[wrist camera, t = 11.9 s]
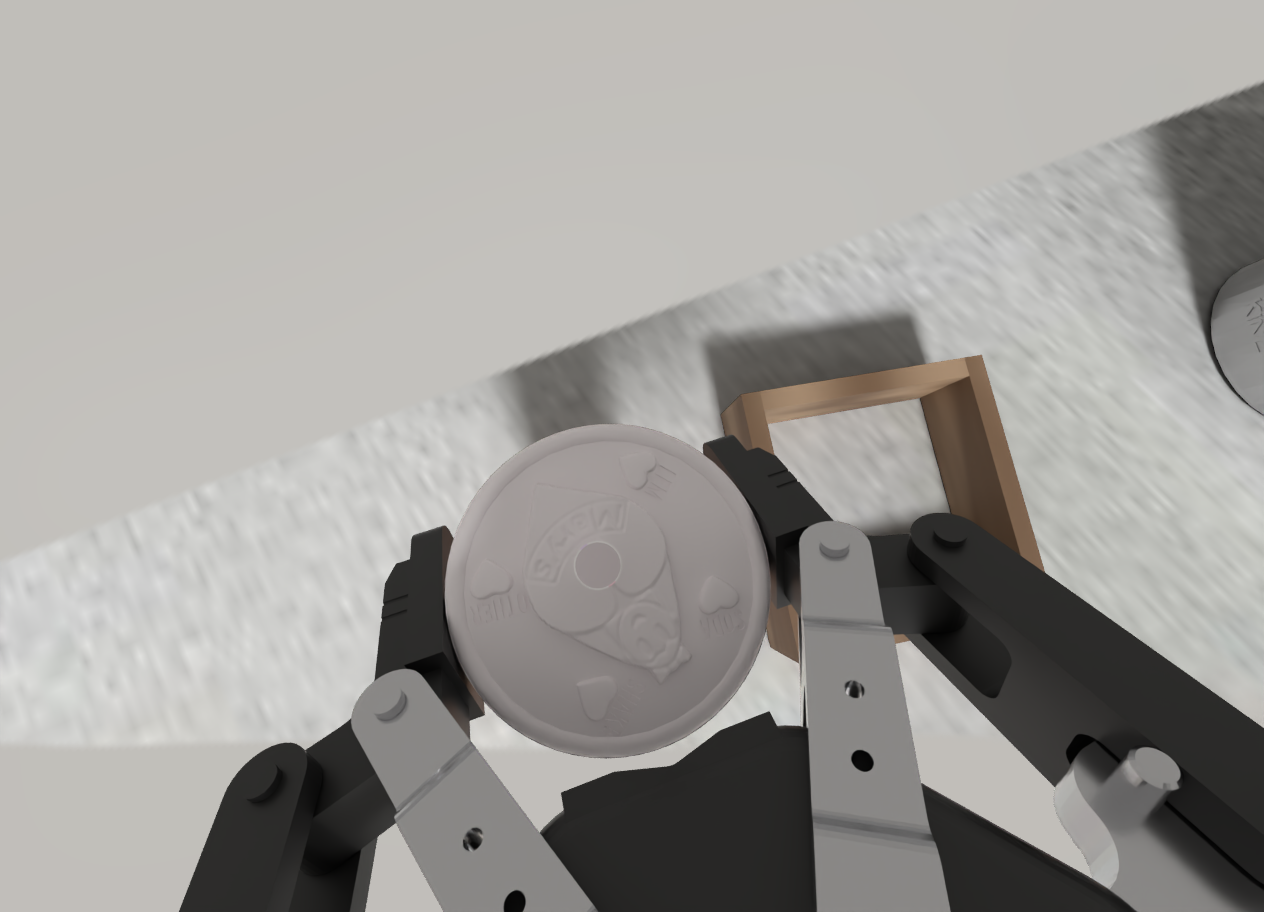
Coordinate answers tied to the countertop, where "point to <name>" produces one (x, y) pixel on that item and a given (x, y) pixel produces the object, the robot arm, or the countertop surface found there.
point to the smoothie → (607, 590)
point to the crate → (958, 434)
